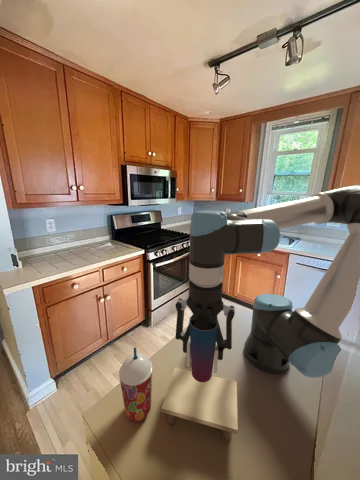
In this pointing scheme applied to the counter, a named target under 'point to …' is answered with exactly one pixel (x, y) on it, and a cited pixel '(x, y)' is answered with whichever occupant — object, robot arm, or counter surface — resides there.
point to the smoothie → (136, 386)
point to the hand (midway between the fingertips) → (202, 365)
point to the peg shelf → (202, 401)
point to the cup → (202, 349)
